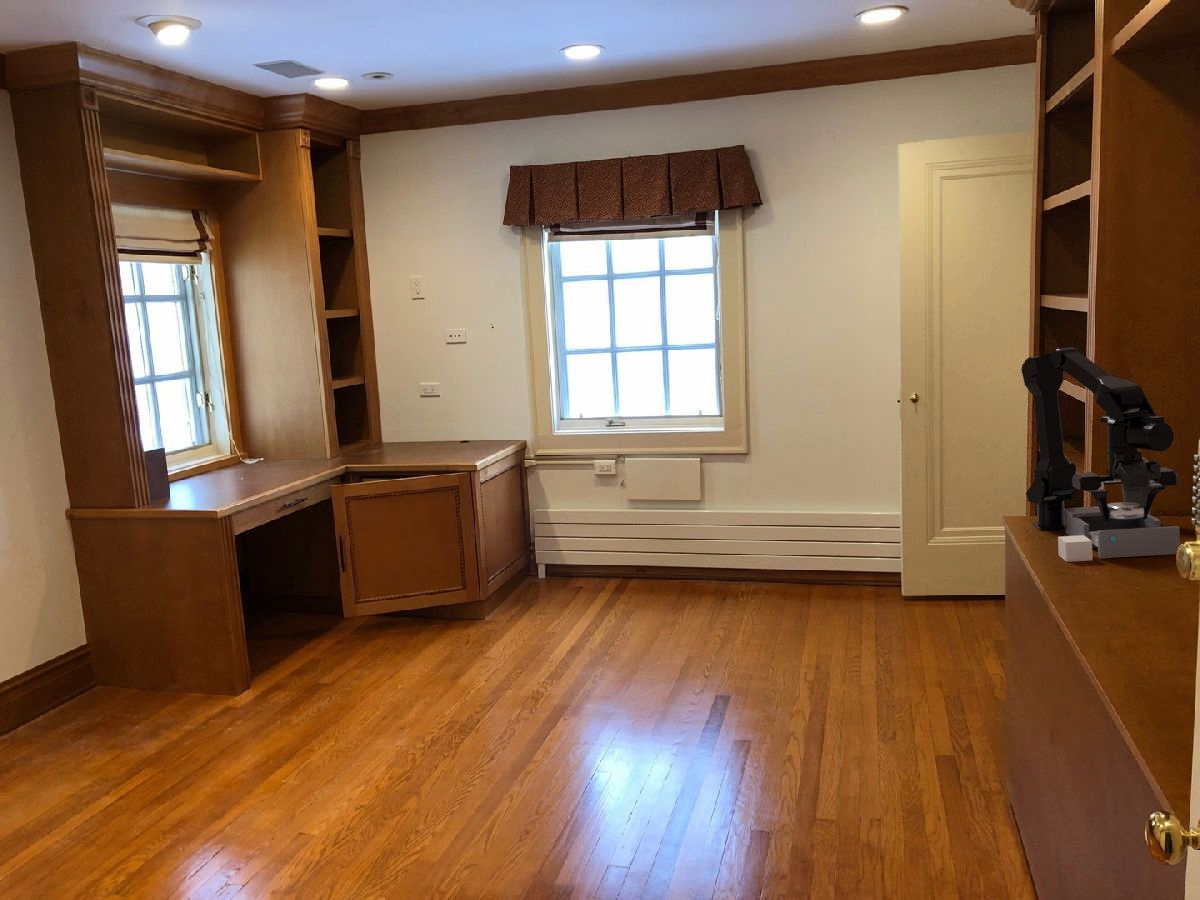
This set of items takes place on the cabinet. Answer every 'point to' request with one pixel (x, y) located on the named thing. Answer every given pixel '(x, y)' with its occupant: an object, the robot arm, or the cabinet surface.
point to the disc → (1125, 510)
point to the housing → (1100, 522)
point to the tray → (1136, 541)
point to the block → (1075, 548)
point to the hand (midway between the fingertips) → (1125, 519)
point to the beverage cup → (1133, 492)
